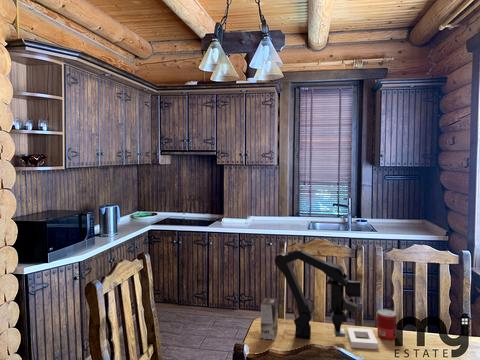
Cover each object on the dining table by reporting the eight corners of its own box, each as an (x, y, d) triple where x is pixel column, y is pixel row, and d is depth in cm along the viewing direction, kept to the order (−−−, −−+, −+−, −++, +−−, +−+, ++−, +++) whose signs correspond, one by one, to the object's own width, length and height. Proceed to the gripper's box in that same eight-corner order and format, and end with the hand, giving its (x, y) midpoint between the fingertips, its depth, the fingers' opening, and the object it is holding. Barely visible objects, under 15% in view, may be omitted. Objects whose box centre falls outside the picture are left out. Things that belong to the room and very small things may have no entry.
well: (351, 347, 150) (351, 341, 150) (346, 332, 164) (346, 327, 164) (378, 349, 149) (378, 343, 148) (371, 334, 162) (371, 328, 162)
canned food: (398, 341, 156) (398, 316, 156) (379, 339, 157) (379, 315, 157) (394, 333, 163) (394, 309, 163) (376, 331, 165) (376, 308, 165)
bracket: (335, 336, 153) (335, 320, 153) (334, 331, 158) (334, 316, 158) (345, 337, 152) (345, 321, 152) (343, 332, 157) (343, 316, 157)
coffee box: (274, 341, 157) (274, 305, 156) (260, 339, 159) (260, 304, 158) (278, 332, 166) (277, 298, 165) (264, 330, 167) (264, 297, 167)
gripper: (359, 303, 144) (359, 340, 145) (352, 288, 163) (352, 321, 163) (331, 301, 146) (332, 339, 146) (328, 287, 164) (328, 320, 165)
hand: (337, 329), depth 155 cm, fingers closed on bracket, 5 cm apart
